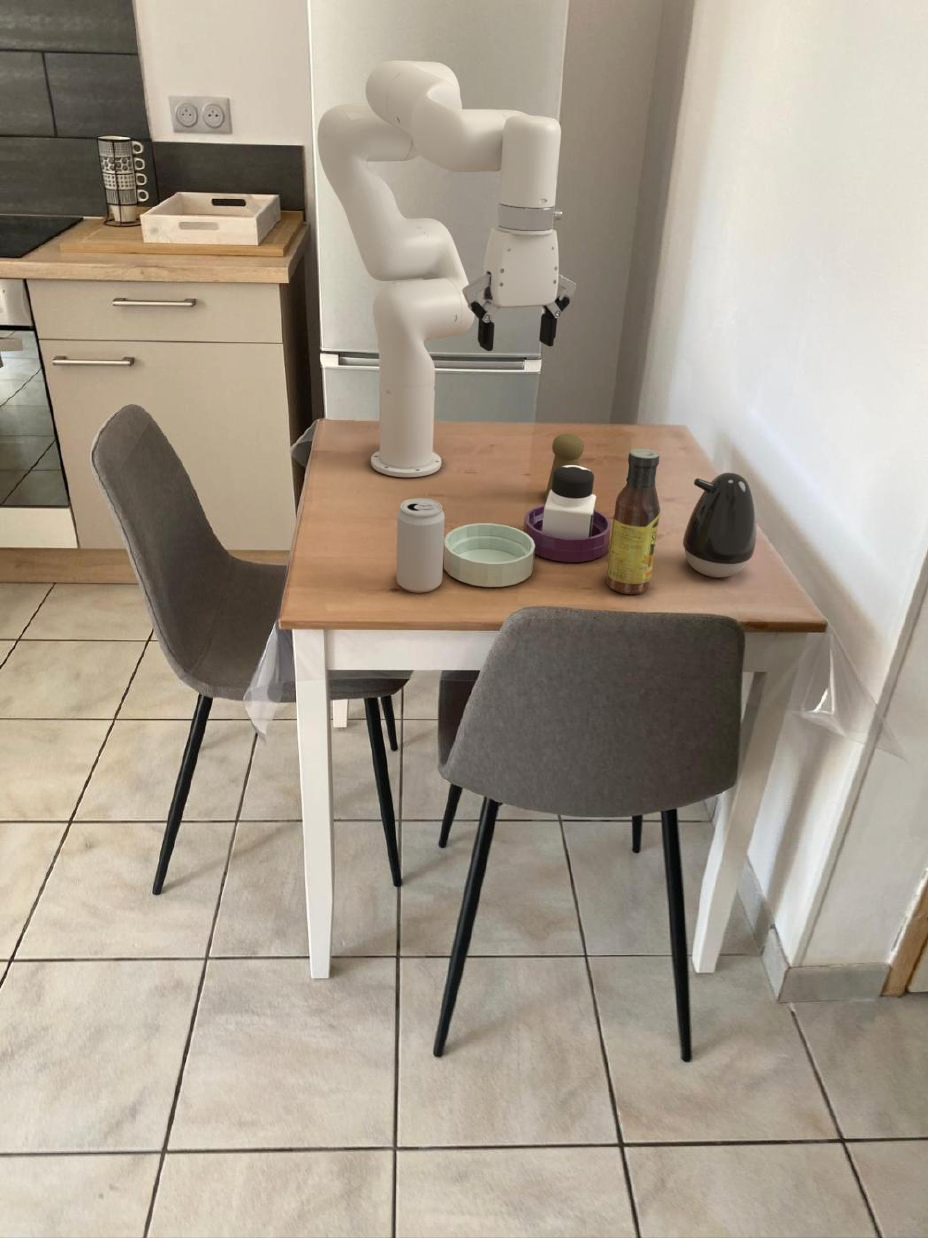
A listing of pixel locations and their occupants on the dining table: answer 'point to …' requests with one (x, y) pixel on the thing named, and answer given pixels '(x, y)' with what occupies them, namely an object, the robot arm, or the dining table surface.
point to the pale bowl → (488, 554)
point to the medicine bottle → (570, 503)
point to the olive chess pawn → (565, 454)
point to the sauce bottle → (635, 526)
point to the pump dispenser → (721, 526)
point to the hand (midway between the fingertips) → (516, 346)
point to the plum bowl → (568, 539)
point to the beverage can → (420, 544)
